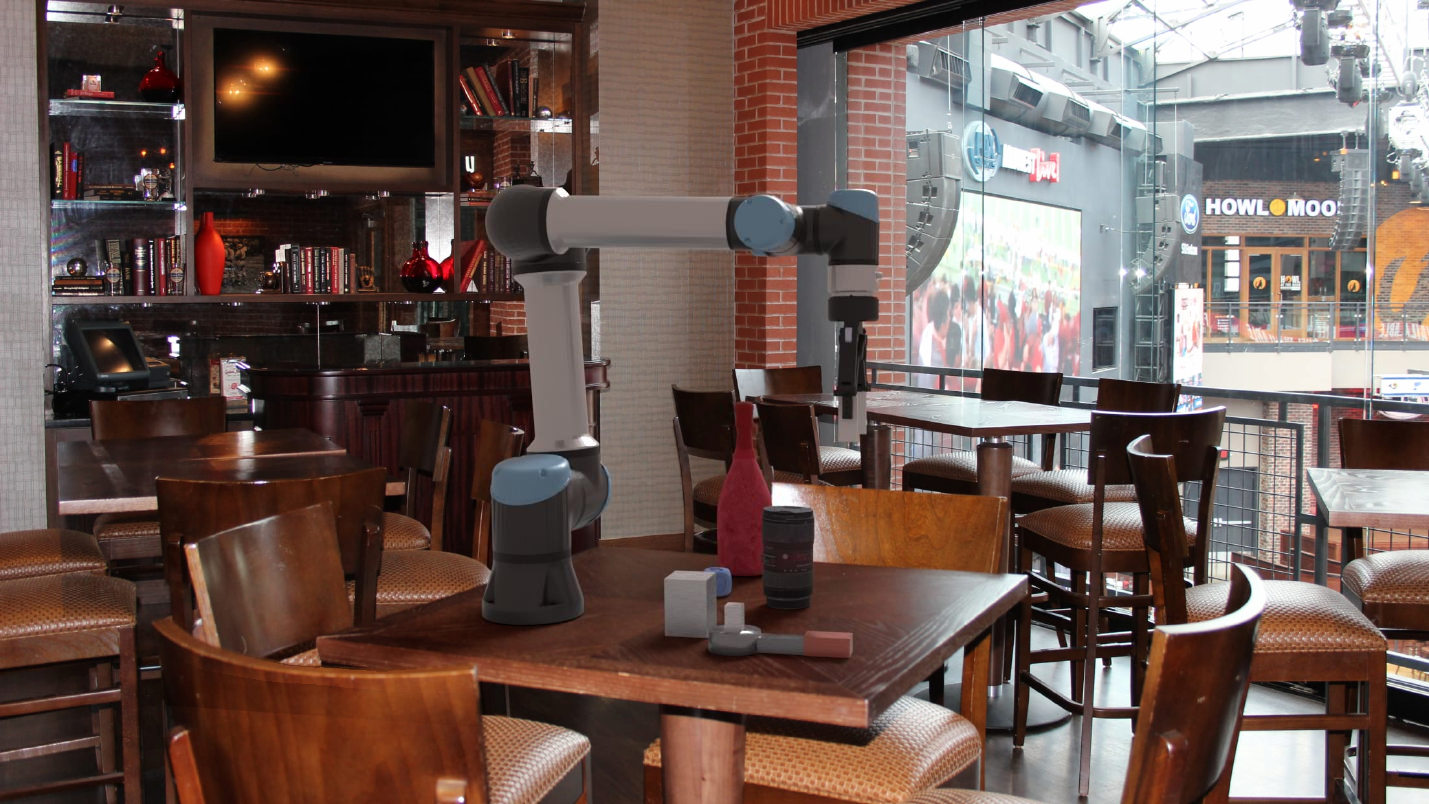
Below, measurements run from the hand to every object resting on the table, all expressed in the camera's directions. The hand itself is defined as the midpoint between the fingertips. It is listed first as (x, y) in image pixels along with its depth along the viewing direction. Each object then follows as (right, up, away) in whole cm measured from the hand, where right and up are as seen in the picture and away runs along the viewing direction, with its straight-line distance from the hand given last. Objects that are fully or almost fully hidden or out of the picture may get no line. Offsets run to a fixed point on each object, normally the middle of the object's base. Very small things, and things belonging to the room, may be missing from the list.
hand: (852, 437), depth 183 cm
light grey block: (-24, -27, -11) cm, 38 cm away
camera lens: (-9, -26, +6) cm, 28 cm away
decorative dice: (-20, -26, +14) cm, 36 cm away
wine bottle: (-15, -25, +31) cm, 43 cm away
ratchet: (-12, -27, -22) cm, 37 cm away
